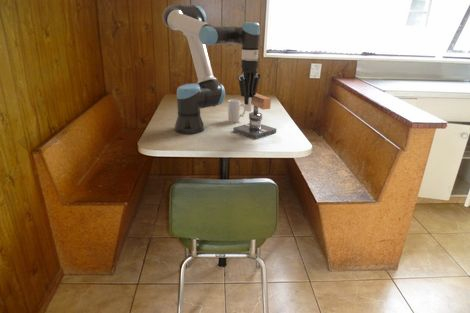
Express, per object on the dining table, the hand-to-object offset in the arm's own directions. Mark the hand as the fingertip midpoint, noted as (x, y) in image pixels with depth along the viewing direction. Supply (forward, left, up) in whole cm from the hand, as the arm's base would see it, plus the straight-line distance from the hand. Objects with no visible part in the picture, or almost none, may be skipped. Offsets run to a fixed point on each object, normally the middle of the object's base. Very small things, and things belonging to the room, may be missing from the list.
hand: (247, 110), depth 161 cm
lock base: (-7, +13, -15) cm, 21 cm away
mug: (-27, +19, -15) cm, 36 cm away
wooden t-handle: (-7, +13, -8) cm, 16 cm away
